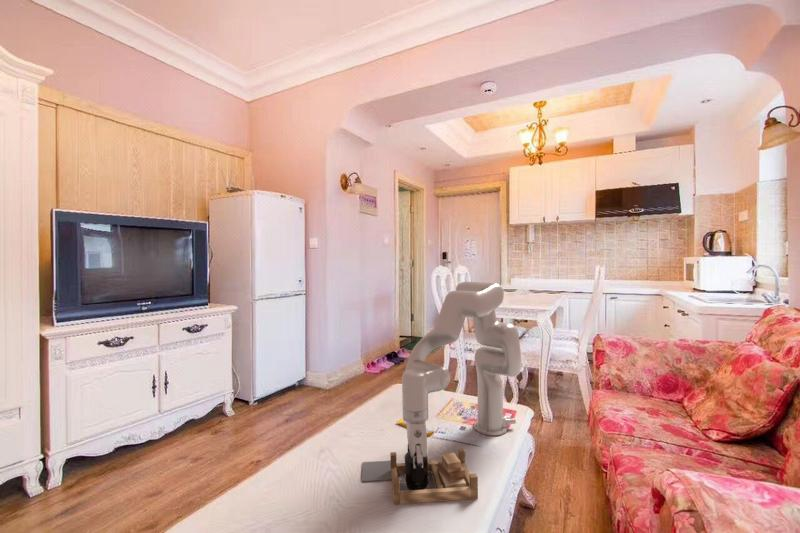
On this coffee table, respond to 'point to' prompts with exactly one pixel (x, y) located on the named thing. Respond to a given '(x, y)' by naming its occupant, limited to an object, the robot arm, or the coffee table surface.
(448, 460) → the offcut
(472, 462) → the coffee table surface
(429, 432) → the candy bar
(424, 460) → the supplement bottle
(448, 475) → the offcut
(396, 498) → the rack
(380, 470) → the mat
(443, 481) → the offcut
